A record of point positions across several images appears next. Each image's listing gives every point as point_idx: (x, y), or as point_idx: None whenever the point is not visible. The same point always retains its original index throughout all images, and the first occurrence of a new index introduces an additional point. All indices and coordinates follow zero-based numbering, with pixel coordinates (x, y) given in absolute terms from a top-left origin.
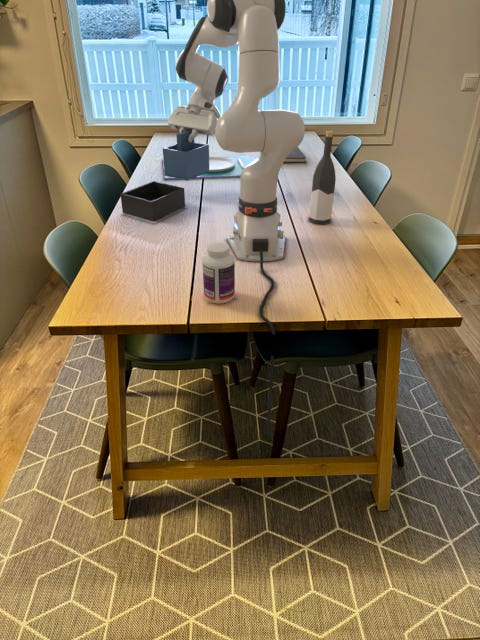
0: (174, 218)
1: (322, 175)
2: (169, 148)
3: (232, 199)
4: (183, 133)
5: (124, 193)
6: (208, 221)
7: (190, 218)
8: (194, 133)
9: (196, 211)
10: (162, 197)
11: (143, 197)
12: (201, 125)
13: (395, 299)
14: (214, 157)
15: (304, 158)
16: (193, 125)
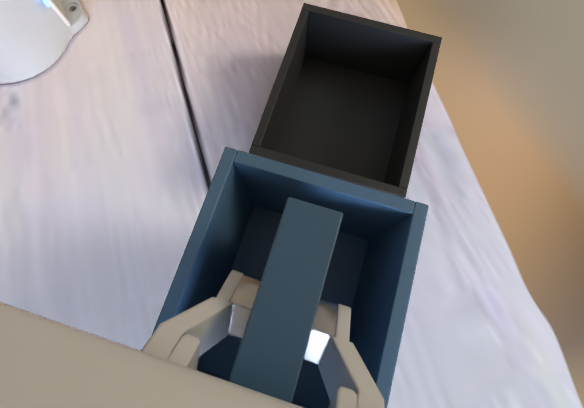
0: (262, 102)
1: None
2: (398, 261)
3: (118, 314)
4: (279, 256)
5: (431, 46)
6: (161, 108)
7: (217, 114)
8: (170, 324)
9: (216, 168)
10: (288, 45)
11: (398, 144)
12: (6, 360)
13: None
14: None
15: None
16: (154, 386)
